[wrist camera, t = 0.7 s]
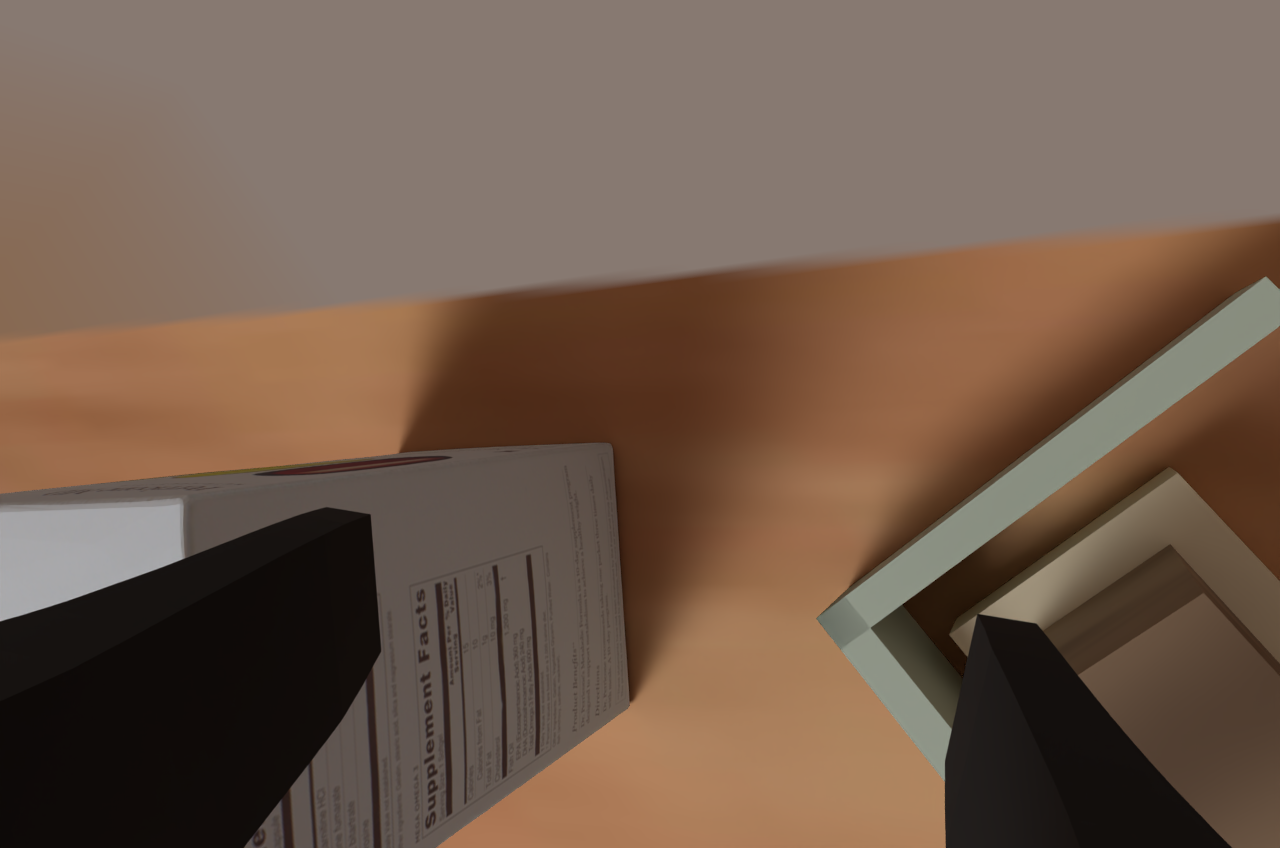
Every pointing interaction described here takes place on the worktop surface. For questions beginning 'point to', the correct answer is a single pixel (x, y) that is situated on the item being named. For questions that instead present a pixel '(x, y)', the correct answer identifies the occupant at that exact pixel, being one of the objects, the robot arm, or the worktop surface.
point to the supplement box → (394, 615)
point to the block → (1186, 691)
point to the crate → (1083, 563)
